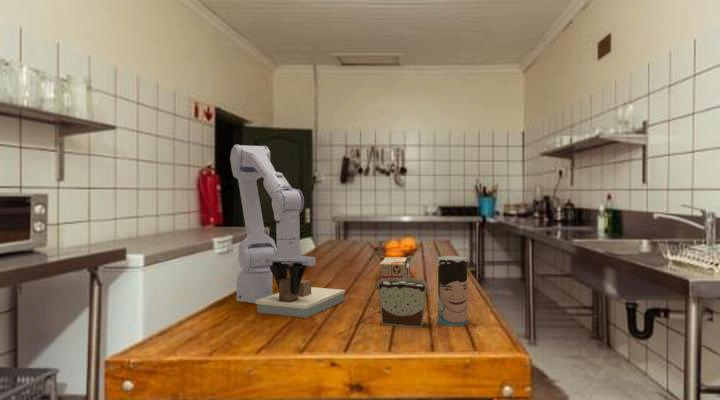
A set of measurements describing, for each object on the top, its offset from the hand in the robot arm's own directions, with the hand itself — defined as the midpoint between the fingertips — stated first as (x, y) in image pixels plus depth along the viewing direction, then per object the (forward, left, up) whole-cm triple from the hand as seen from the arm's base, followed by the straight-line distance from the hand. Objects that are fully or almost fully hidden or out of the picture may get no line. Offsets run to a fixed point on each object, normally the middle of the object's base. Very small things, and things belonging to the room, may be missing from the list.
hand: (288, 293), depth 130 cm
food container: (+29, +4, -6) cm, 30 cm away
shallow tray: (0, +6, -6) cm, 9 cm away
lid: (0, +6, -2) cm, 7 cm away
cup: (+39, +9, -6) cm, 41 cm away
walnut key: (0, 0, -4) cm, 4 cm away
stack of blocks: (+19, +25, -6) cm, 32 cm away
